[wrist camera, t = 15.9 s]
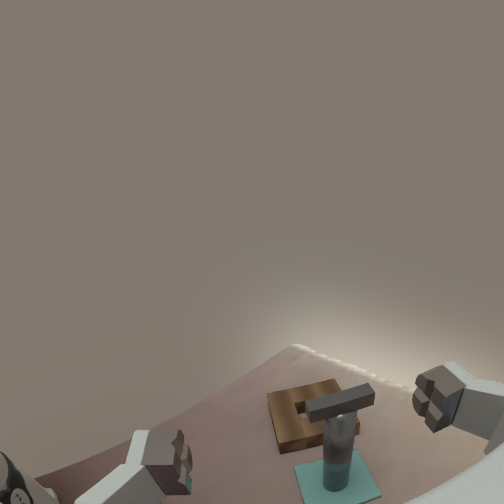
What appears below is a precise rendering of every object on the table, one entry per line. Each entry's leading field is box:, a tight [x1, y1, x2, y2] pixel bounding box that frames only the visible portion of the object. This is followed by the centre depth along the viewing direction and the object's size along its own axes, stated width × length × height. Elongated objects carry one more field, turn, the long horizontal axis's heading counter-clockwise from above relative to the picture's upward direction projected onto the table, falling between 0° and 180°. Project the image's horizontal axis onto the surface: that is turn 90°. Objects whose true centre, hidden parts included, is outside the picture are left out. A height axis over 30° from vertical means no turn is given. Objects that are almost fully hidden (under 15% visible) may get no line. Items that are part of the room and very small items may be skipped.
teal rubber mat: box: [294, 449, 381, 504], centre depth 30 cm, size 10×10×1 cm
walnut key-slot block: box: [267, 379, 360, 454], centre depth 45 cm, size 13×13×3 cm
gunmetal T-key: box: [305, 383, 375, 492], centre depth 28 cm, size 7×4×18 cm, turn 95°
